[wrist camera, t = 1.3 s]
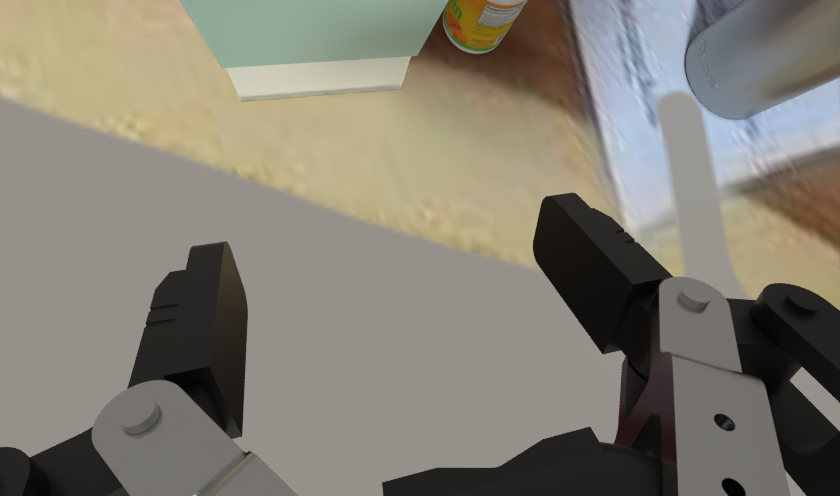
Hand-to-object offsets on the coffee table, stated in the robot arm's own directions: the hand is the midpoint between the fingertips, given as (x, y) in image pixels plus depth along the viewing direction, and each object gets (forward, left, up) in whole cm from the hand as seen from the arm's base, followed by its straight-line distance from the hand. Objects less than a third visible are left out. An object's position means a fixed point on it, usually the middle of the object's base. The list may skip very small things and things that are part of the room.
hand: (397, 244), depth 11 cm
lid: (0, -13, -9) cm, 16 cm away
